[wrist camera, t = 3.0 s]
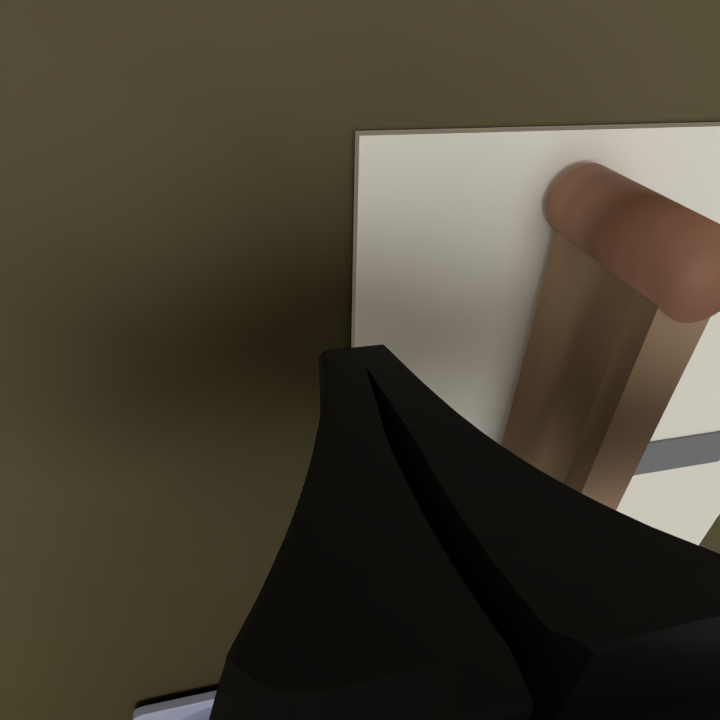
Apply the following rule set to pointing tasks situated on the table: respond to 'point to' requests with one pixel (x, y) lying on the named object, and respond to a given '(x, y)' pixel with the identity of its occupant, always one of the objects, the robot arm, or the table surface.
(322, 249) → the table surface
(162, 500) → the table surface
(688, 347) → the brown wooden bar
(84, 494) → the table surface
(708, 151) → the card
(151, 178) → the table surface
